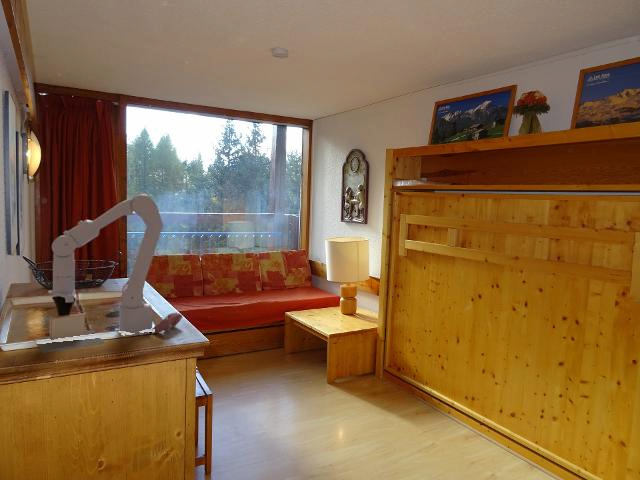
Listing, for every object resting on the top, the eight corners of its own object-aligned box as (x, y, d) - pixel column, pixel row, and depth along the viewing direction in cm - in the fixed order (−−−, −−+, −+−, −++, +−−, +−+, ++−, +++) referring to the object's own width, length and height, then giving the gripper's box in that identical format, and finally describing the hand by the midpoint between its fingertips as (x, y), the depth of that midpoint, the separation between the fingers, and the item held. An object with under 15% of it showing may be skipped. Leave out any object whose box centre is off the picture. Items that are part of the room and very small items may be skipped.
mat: (92, 331, 146) (92, 330, 146) (105, 344, 136) (105, 343, 136) (33, 340, 135) (33, 338, 135) (42, 355, 125) (42, 353, 125)
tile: (83, 335, 140) (83, 313, 139) (84, 337, 139) (85, 314, 138) (49, 340, 134) (49, 317, 134) (50, 342, 133) (51, 318, 132)
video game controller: (161, 339, 148) (171, 322, 146) (150, 331, 148) (159, 314, 147) (177, 330, 157) (187, 313, 156) (167, 322, 158) (176, 306, 157)
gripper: (43, 271, 141) (43, 315, 143) (54, 282, 130) (54, 328, 132) (69, 270, 146) (68, 312, 147) (81, 280, 135) (81, 325, 136)
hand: (63, 319), depth 140 cm, fingers closed
